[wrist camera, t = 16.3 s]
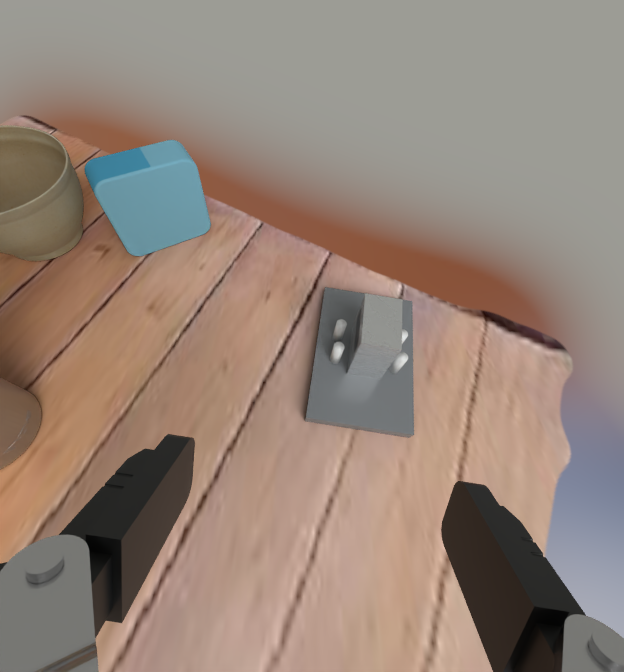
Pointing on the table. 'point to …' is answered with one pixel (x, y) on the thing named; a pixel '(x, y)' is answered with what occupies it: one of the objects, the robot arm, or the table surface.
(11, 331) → the table surface
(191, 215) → the data package
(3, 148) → the planter bowl
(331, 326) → the drive dock
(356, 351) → the block
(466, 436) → the table surface
